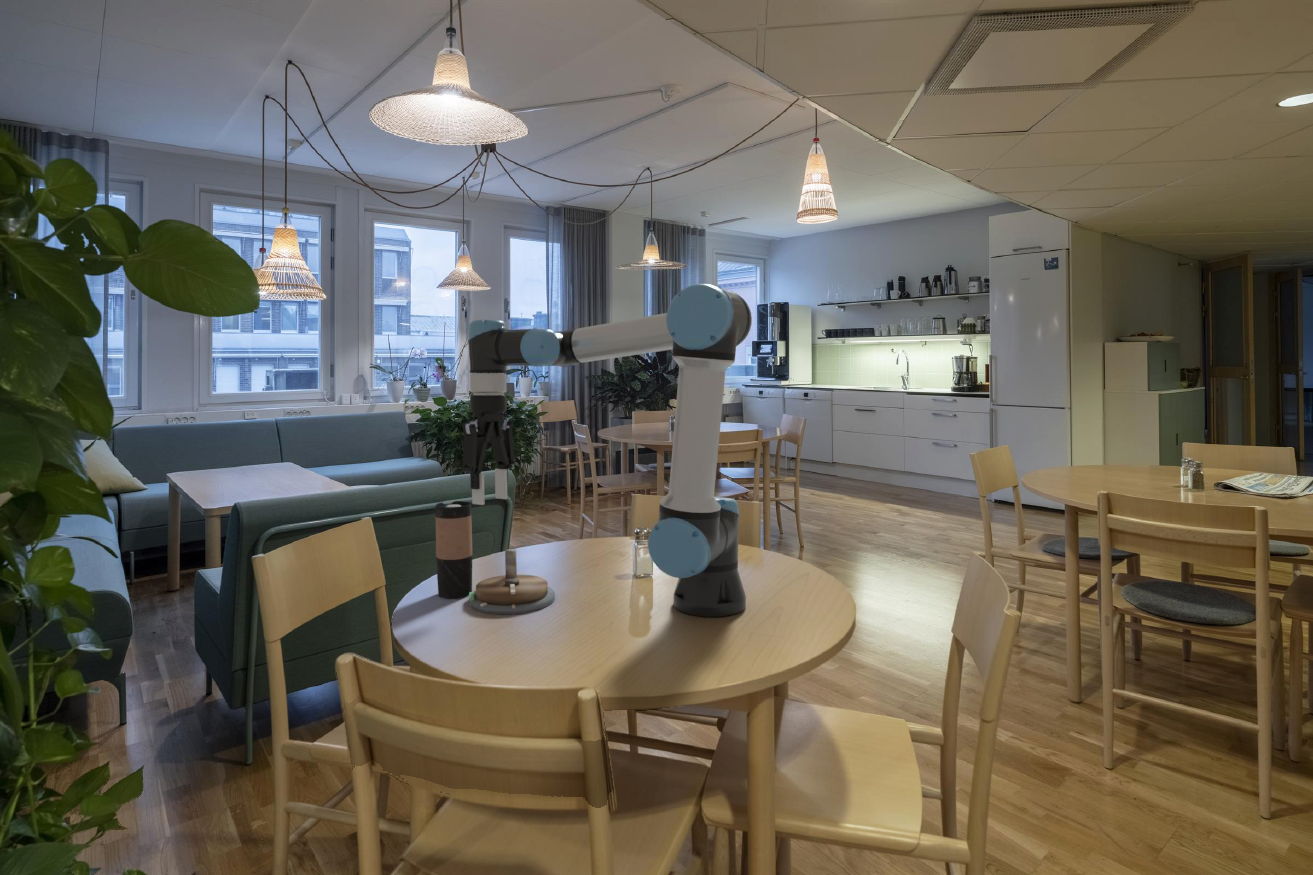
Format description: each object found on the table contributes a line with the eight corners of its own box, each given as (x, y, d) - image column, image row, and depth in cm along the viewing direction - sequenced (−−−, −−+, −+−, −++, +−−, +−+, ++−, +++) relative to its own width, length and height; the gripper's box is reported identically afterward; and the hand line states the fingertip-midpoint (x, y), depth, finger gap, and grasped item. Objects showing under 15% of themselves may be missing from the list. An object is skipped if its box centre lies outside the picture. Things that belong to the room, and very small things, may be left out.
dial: (476, 585, 162) (475, 550, 161) (544, 581, 166) (544, 546, 165) (475, 606, 148) (474, 568, 147) (550, 601, 151) (550, 563, 150)
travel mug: (463, 600, 157) (461, 508, 155) (430, 598, 158) (428, 506, 156) (479, 589, 164) (477, 501, 162) (447, 587, 166) (445, 500, 164)
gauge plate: (569, 593, 162) (569, 585, 162) (525, 619, 145) (525, 610, 145) (500, 584, 168) (500, 576, 168) (450, 607, 152) (450, 599, 152)
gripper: (503, 392, 166) (505, 492, 168) (441, 395, 148) (444, 507, 150) (530, 392, 162) (532, 495, 164) (470, 395, 145) (472, 510, 147)
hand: (490, 501), depth 157 cm, fingers open, 7 cm apart
